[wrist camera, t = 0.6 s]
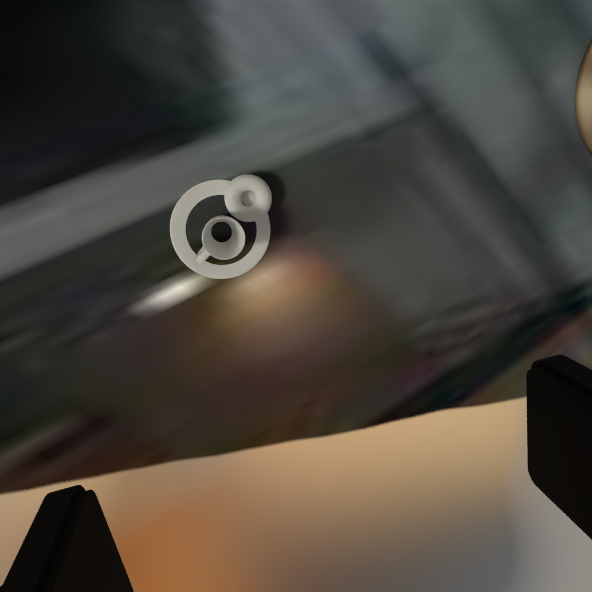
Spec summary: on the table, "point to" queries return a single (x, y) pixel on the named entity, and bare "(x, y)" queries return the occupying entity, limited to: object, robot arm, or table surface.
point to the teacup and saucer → (235, 191)
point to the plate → (585, 99)
